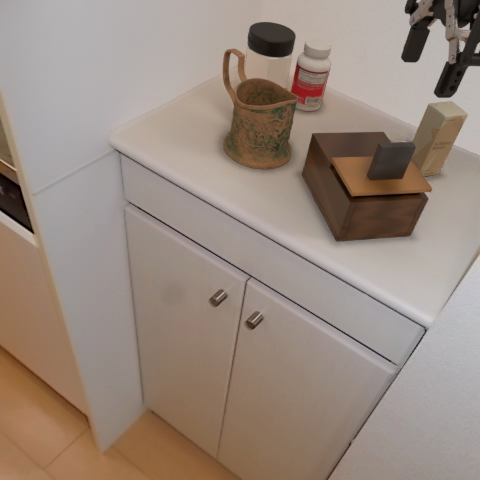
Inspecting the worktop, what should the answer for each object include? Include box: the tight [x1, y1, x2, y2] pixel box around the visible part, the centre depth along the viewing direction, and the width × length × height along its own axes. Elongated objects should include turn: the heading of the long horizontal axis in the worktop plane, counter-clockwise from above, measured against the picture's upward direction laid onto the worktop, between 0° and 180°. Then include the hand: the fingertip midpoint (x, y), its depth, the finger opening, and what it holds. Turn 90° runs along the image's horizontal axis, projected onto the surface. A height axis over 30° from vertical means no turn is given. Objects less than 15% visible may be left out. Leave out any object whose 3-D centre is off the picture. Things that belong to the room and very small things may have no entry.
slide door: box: [331, 141, 433, 196], centre depth 71 cm, size 12×8×6 cm, turn 104°
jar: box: [244, 21, 297, 89], centre depth 94 cm, size 9×8×12 cm
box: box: [411, 100, 469, 178], centre depth 86 cm, size 5×4×11 cm
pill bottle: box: [290, 37, 332, 112], centre depth 95 cm, size 6×6×11 cm
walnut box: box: [301, 131, 429, 242], centre depth 78 cm, size 12×16×7 cm
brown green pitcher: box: [222, 48, 298, 170], centre depth 84 cm, size 12×18×12 cm, turn 33°
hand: (424, 77), depth 61 cm, fingers open, 8 cm apart
